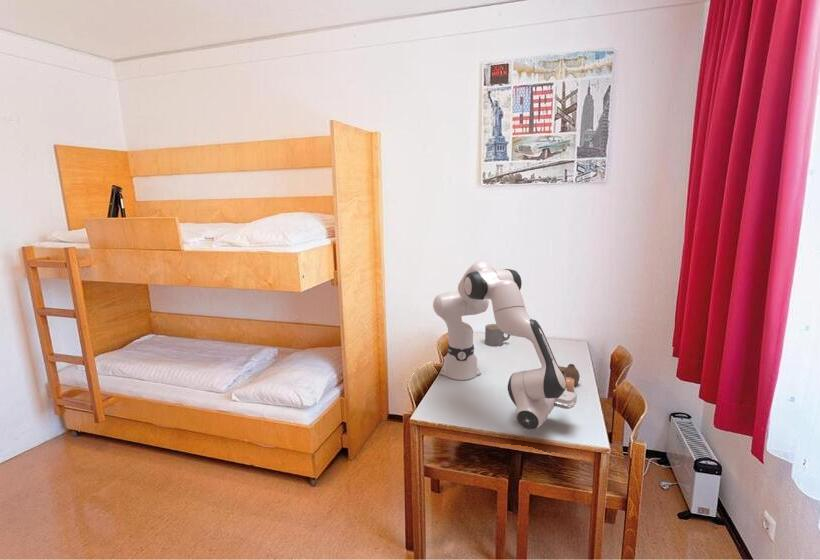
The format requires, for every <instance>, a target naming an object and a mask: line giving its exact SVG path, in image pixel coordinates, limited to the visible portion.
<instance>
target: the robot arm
mask: <svg viewBox="0 0 820 560" xmlns="http://www.w3.org/2000/svg"><path fill="white" fill-rule="evenodd" d="M522 282H523V281H522V278H521V276H520V274H519V273H518V271H517V270H514V269H510V268H503V269H501V268H499V269H498V268H497V269H496V268H495V269H494V268H493V266H492V265H491V264H490V263H489V262H487V261H484V260H479V261H476V262H474V263H473V264H472V265H471V266H470V267H469V268H468V269H467V270H466V271H465V273H464V274H463V276H462V278H461V280H460V281H459V283H458V286H457V291H451V292H450V291H449V292H445V293H440V294H436V296H435V298H434V299H433V302H432V303H433V304H432V306H433V307H432V309H433V310H434V312H435V314H436V315H437V316H438V317H440V318H441V319H442V320H443V321H444V323H445V325H446V327H447V333H448V344H447V354H446V355H445V356H443V358H442V359H443V360H442V361H443V364H442V366H441V369H440V372H439V374H440V375H442V376H445V377H448V378H450V379H453V380H456V381H457V380H459V381H466V380H467V381H468V380H471V379H472V380H473V379H475V378H476V377H477V376H481V375H482V371H481V370H480V369H479V367H478V357H477V356H476V354H475V345H474V329H473V327H472V326H471V325H470V324H468V323H467V322H464V321H463V320H462V317H465V316H474V315H475V316H476V315H478V314H483V313H485V312H486V311H487V310H488V308H489V305H490V303H489V302H490V301H491V304H492V305H491V306H492V311H493V316H494V322H495V324H497V327H498V328H499V329H500V330H501V331H502V332H504V335H505V334H506V335H507V336H508V335H510V336H513V337H517V338H525V339H526V340H528V341H530V342H531V343H532V345H533V347H534V349H535V352H536V355H537V358H538V359H539V361H540V364H541V366H540V368H535V369H528V370H522V371H521V370H520V371H517V372H513V373H512V374H511V375H510V377H509V379H508V383H507V393H508V396H509V398H510V400H511V402H512V403H513V405H514V406H515V407H516V412H515V417H516V421H517V423H518V424H519V425H520V426H521V427H522V428H524V429H527V430H536V429H539V428H540V427H541V426H542V425H543V424H544V423H545V422H546V421H547V418H548V416H550V415H551V413H552V411H553V410H554V408H555V407H556V408H560V409H561V408H562V409H563V410H565V409H566V410H570V409H572V408H574V407H575V405H576V404H577V400H578V395H577V394H576V393H575V392H569V391H567V388H566V382H565V378H564V376H563V374H562V372H561V370H560V368H559V364H558V362H557V360H556V358H555V356H554V354H553V351H552V348H551V346H550V344H549V342H548V339H547V337H546V335H545V333H544V330H543V328H542V327H541V325H540V324H539V322H538V321H537V320H535V319H532V318H531V317H530V315H529V313H528V312H527V310H526V306H525V301H524V299H523V295H522V292H521V289H522ZM489 300H490V301H489Z"/></svg>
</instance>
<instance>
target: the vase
mask: <svg viewBox="0 0 820 560" xmlns="http://www.w3.org/2000/svg"><path fill="white" fill-rule="evenodd" d="M566 368H567V372H566V377H571V378H573V379H574V387H575V386H577V385H578V383H579V382H580V378H581V377H580V372H579V371H578V368H577V367H576V366H575V364H573V363H569V364H568V365H567V367H566Z"/></svg>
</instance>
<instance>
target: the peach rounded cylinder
mask: <svg viewBox="0 0 820 560" xmlns="http://www.w3.org/2000/svg"><path fill="white" fill-rule="evenodd" d="M566 388H567V391H569V392H573V393H575V386H574V379H573V378H571V377H566Z"/></svg>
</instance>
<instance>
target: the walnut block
mask: <svg viewBox="0 0 820 560" xmlns="http://www.w3.org/2000/svg"><path fill="white" fill-rule="evenodd" d="M558 366H559V365H558ZM559 368H560V370H561V372H562V374H563V376H564V378H565V382H566V372H567V367H565V366H559Z"/></svg>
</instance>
